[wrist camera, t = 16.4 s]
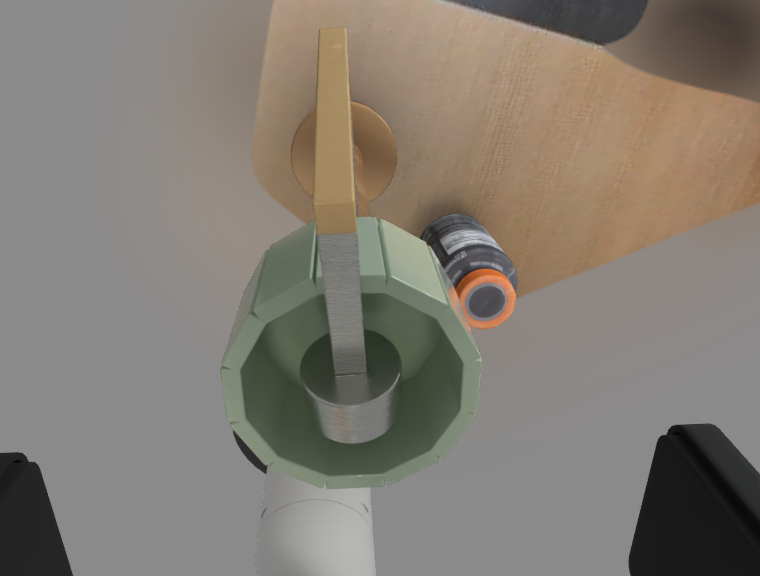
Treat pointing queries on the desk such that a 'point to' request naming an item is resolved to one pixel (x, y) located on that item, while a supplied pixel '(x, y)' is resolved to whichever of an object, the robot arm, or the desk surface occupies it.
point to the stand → (369, 147)
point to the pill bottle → (474, 268)
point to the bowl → (381, 314)
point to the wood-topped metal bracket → (343, 277)
